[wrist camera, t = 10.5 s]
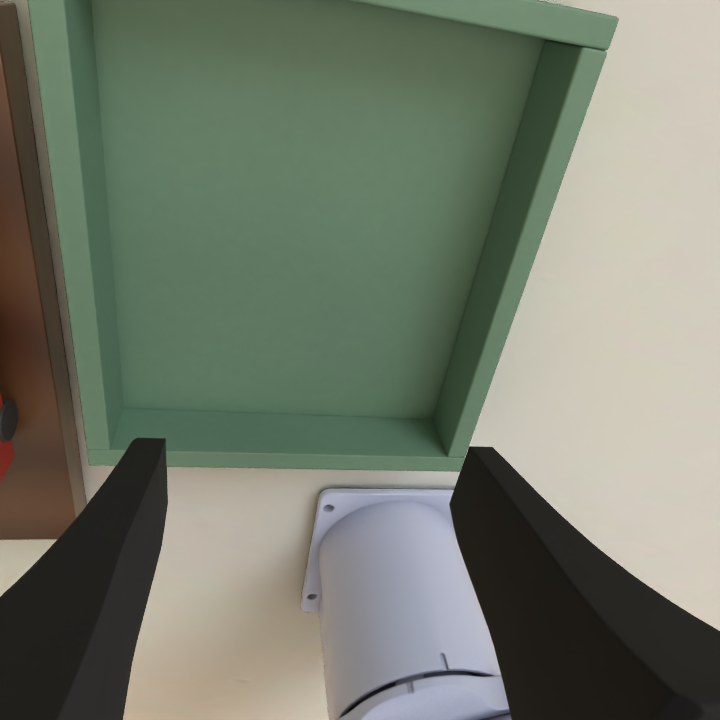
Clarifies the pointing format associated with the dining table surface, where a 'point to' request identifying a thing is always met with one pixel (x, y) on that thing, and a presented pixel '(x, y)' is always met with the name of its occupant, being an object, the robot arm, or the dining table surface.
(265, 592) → the dining table surface
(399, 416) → the tray
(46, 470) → the board
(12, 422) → the toy car
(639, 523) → the dining table surface
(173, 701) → the dining table surface
